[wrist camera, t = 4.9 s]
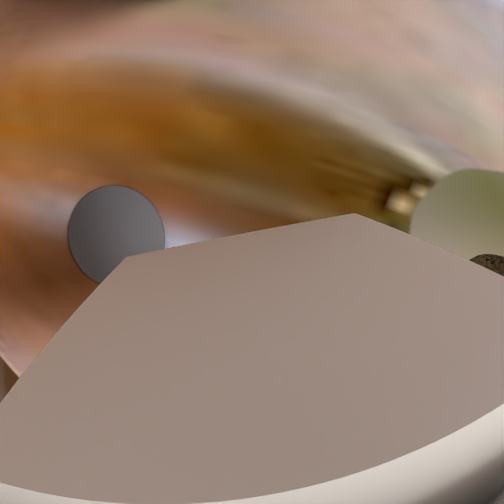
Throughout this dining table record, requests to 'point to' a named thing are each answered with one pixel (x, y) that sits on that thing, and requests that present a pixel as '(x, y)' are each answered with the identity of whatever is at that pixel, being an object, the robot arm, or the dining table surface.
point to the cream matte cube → (270, 377)
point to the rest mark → (113, 229)
